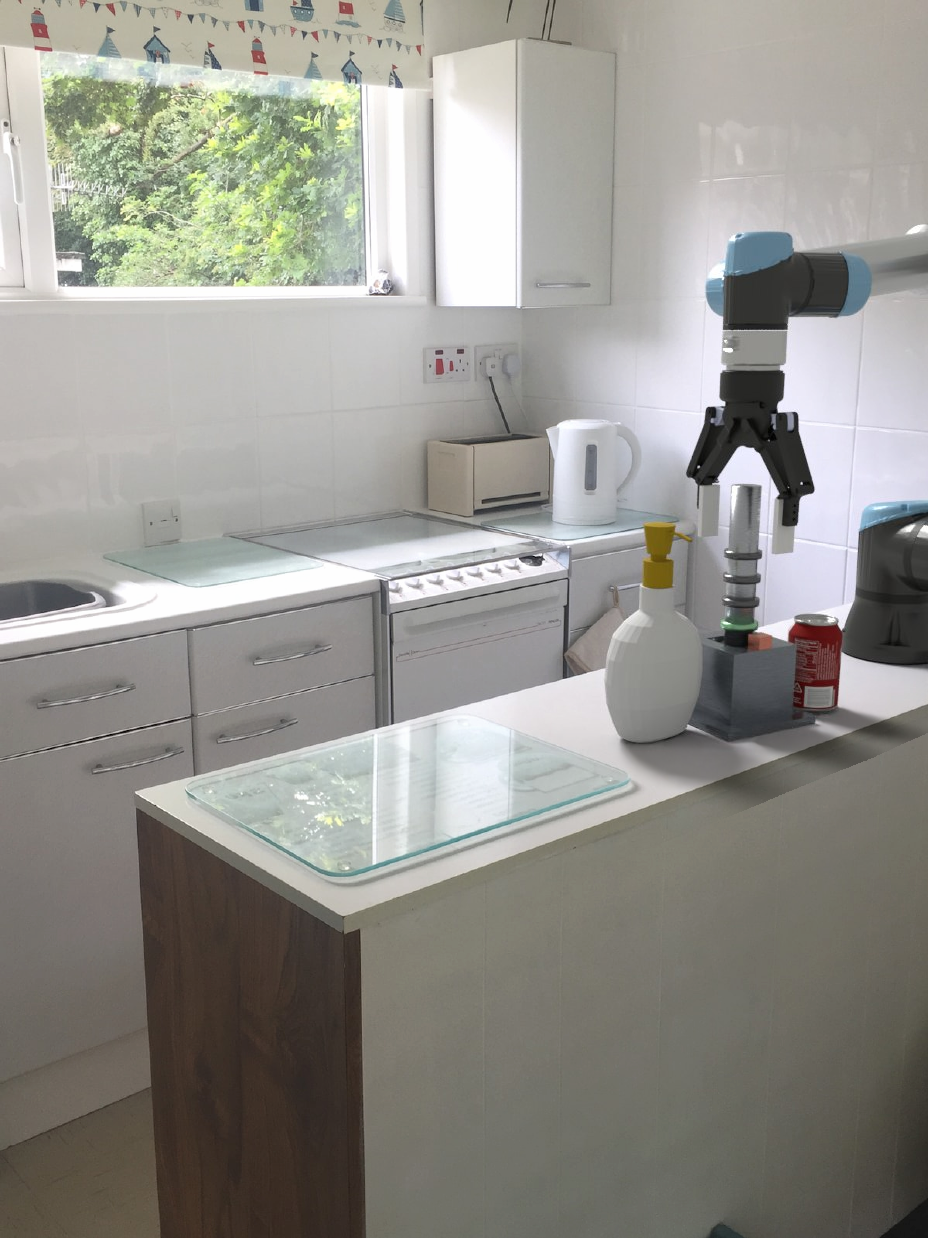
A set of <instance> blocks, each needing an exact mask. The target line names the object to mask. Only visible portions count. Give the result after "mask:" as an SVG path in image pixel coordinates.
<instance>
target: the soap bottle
mask: <svg viewBox="0 0 928 1238" xmlns="http://www.w3.org/2000/svg"><path fill="white" fill-rule="evenodd" d="M676 527H677V525H676V523H672V522H664V521H653V522H652V521H651V522H644V523H643V531H644V532H643V533H644V541H645V547H646V548H645V549H646V554H648V555H650V557H646V558H644V559H642V583H639V596H638V597H639V599H638V600H639V602H638V603H639V604H638V605H639V607H638V610H635V612H634V613H632V614H631V615H630V616H628V617H627V618H626V619H625V620H624V621H623V622H622V623H621V624H620V625H619V627H618V628H617V629H616V630H615V631H614V632H613V634H612V636H611V639H610V643H609V647H608V651H607V653H606V659H605V660H606V661H605V672H604V692H605V702H606V706H607V708H608V712H609V716H610V718H611V721H612V724H613V727H614V728H615V730H616V732H617V735H618V736H619V737H620V738H622V739H624V740H626V741H627V742H632V743H637V744H638V743H639V744H645V743H646V744H647V743H653V742H657V741H658V742H659V741H662V740H665V739H668V738H672V737H675V736H678V735H679V734H681V733H683V732H684V731H685V730H686V729H687V727H688V725H689V724H688V722H689V720H690V718H691V715H692V713H693V710H694V707H695V704H696V702H697V699H698V696H699V691H700V684H701V678H702V671H703V661H702V644H701V640H700V636H699V634H700V633H699V630H698V628H697V627H696V626H695V625H694V623H692V621H691V620H690V619H689V618H688V617H686V616H685V615H684V614H681V613H680V612H678V611H676V610H675V599H676V598H675V597H676V585H674V564H675V563H674V561H675V560H674V559H673V558H669V557H667V555H671V552H672V546H673V542H674V537H675V536H676V537H679V538H681V539H682V540H684V541H686V542H688V543H692V542H693V539H692V538H691V537H689V536H687V535H686V534H684V533H682V532H678V531H675V530H676Z"/></svg>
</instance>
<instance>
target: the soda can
mask: <svg viewBox="0 0 928 1238" xmlns="http://www.w3.org/2000/svg"><path fill="white" fill-rule="evenodd" d="M793 620H794V622H793V623H792V624H791V625H790V626H789V628H788V630H787V640H786V641H787V642H791V643H794V644H797V649H796V665H795V680H794V696H793V707H794V708H797V709H799V710H802V711H805V712H807V713H810V714H813V715H819V714H826V713H829V712H830V711H832V710H834V709H836V708H837V707H838V704H839V691H840V678H841V664H842V663H841V662H842V652H843V651H842V639H843V633H842V629H841V628H840V626H839V622H840V620H839V618H837V617H836V616H832V615H828V614H823V613H800V614H797V615H795V616H794V617H793Z"/></svg>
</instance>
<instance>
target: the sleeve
mask: <svg viewBox="0 0 928 1238" xmlns="http://www.w3.org/2000/svg"><path fill="white" fill-rule="evenodd" d="M699 636H700V640H701V644H702V661H703V671H702V678H701V684H700V691H699V696H698V699H697V702H696V704H695V707H694V710H693V713H692V715H691V718H690V720H689V722H688V725H691V726H693V727H695V728H697V729H700V730H702V731H704V732H706V733H708V734H711V735H713V736H715V737H717V738H720V739H722V740H724V741H727V742H732V741H736V740H741V739H745V738H751V737H755V736H761V735H765V734H770V733H776V732H780V731H784V730H790V729H793V728H799V727H804V726H810V725H815V724H816V717H817V716H816V714H810V713H807V712H805V711H802V710H799V709H797V708H794V707H793V696H794V680H795V665H796V649H797V644H794V643H791V642H787V641H788V640H785V639H784V640H783V639H780V638H777V637H774V636H773V635H771V634H768V633H766V632H765V633H764V632H761V631H759V632H758V631H754V633H752V634H749V638H748V646H747V647H741V648H734V647H731V646H728V645H725V644H722V643H720V642H721V641H723V640H724V629H721V630H716V631H711V632H709V631H708V632H705V633H699Z"/></svg>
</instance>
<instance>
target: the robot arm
mask: <svg viewBox="0 0 928 1238" xmlns="http://www.w3.org/2000/svg"><path fill="white" fill-rule="evenodd" d="M793 243H794V241H793V237H792V235H791V233H789V232H783V231H774V230H773V231H769V230H767V231H764V230H763V231H746V232H745V231H743V232H739V233H735V234H733V235H732V236H731V237H730V238H729V240H728V242H727V246H726V252H725V260H722V261H720V262H719V263H717V264H716V265H714V266H713V267H712V268H711V270H710V272H709V273H708V275H707V278H706V282H705V298H706V302H707V304H708V306H709V308H710V309H711V311H712V312H713V313H715V314H716V315H717V316H720V317H722V335H721V336H722V341H721V356H720V363H721V364H722V365H723V366H725V369H724V370H722V371H721V372H720V373H719V393H718V396H719V400H720V401H722V402H724V405H716V406H707V407H706V408H705V413H704V421H703V425H702V426H703V427H702V428H701V432H700V434H699V436H698V439H697V442H696V444H695V446H694V450H693V452H692V455H691V458H690V460H689V463H688V466H687V468H686V471H685V473H686V474H685V475H686V477H687V478H688V479H691V478H692V479H693V480H694V483H695V484H696V485H697V494H696V508H697V510H698V516H697V518H698V519H697V520H698V521H697V537H698V538H709V537H717V536H719V521H720V520H719V519H720V516H719V515H720V497H721V485H720V484H719V483H720V481H719V479H718V478H719V477H720V475H721V474H722V472H723V471H724V469H725V468H726V466H727V465H728V463H729V462H730V460H731V458H732V457H733V456H734V455H735V452H736V451H737V450H738V449H739V448H740V447H744V448H749V449H753V450H754V452H756V453H758V454H759V455H760V457H761V459H762V461H763V464H764V465H765V468H766V469H767V472H768V474H769V475H770V477H771V480H772V481H773V484H774V486H775V488H776V490H777V492H778V495H777V496H776V497H775V498H774V500H773V501H774V504H773V520H772V521H773V522H772V539H771V554H772V555H784V554H791V553H794V546H795V545H794V544H795V532H796V531H795V529H796V527H797V526H798V523H799V514H800V513H799V512H800V501H801V498H803V497H804V496H807V495H812V494H814V492H815V489H816V487H815V484H814V481H813V476H812V473H811V470H810V466H809V463H808V460H807V455H806V453H805V449H804V445H803V441H802V437H801V434H800V426H799V425H800V424H799V414H798V412H797V411H781V412H779V411H778V404H779V403H780V402H781V401H783V400H784V398H785V397H784V396H785V381H786V380H785V378H786V373H785V372H784V370H782V369H781V366H784V365H785V364H787V349H788V346H787V345H788V329H789V320H790V319H789V318H832V319H833V318H834V319H838V318H841V317H850V316H853V315H856V314H857V313H858V312H860V311H861V310H862V309H863V308H864V306H866V304H867V302H868V301H869V298H871V297H875V296H876V297H878V296H883V295H888V294H895V293H901V292H906V291H909V292H911V293H913V294H915V295H918V296H919V295H920V296H926V295H928V223H925V224H924V223H923V224H919V225H915V226H914V227H912V228H910V229H909V230H907V231H906V233H905V234H901V235H893V236H888V237H881V238H880V237H879V238H875V239H874V238H872V239H867V240H859V241H853V242H847V243H840V244H833V245H827V246H820V247H819V246H818V247H813V248H807V249H800V250H799V249H798V250H795V248H794V247H793ZM857 540H858V542H857V543H858V544H857V558H856V560H857V561H856V574H855V575H856V576H855V591H854V592H855V593H854V600H853V602H852V606H851V607H850V610H849V613H848V614H847V616H846V617H847V618H846V620H845V623H844V627H843V628H842V629H841V631H842V633H843V639H842V652H843V653H844V654H847V655H849V656H851V657H855V658H859V659H862V660H868V661H873V662H880V663H888V664H902V665H904V664H905V665H906V664H907V665H908V664H909V665H910V664H913V665H915V664H925V663H926V664H927V663H928V499H921V500H920V499H919V500H917V499H916V500H897V501H896V500H895V501H885V502H884V501H883V502H875V503H870V504H868V505H867V506H865V508H864V509H863V510H862V513H861V519H860V525H859V528H858V539H857Z"/></svg>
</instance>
